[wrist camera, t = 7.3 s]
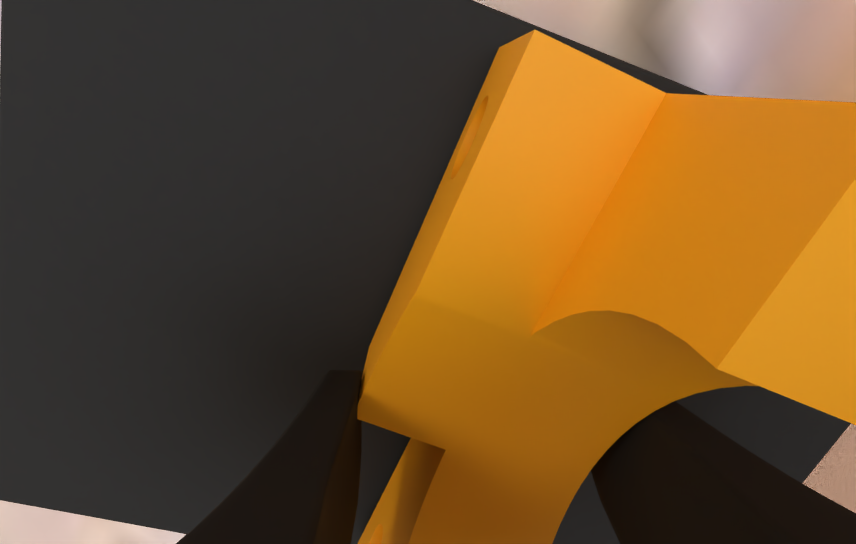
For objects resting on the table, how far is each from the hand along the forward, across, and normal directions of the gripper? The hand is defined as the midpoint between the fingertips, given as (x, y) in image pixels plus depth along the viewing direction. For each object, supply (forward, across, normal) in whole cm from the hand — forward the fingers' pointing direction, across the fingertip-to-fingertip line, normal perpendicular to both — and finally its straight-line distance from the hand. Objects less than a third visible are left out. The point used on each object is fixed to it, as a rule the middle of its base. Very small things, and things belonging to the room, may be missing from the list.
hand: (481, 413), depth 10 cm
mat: (+2, 0, 0) cm, 2 cm away
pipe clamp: (+1, 0, 0) cm, 1 cm away
